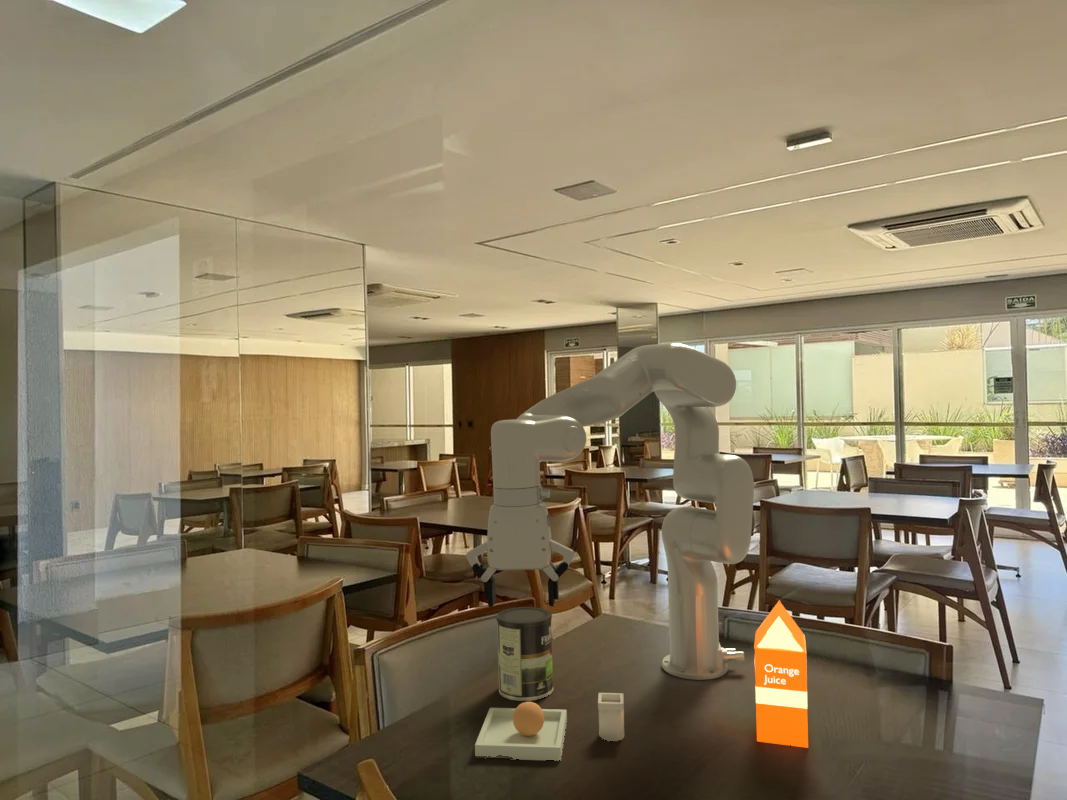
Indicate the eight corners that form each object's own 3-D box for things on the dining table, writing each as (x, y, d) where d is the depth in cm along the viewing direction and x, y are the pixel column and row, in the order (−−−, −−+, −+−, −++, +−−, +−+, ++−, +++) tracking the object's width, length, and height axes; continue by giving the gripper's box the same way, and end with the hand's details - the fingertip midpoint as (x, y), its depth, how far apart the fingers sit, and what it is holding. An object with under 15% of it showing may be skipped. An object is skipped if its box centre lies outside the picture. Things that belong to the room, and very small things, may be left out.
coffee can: (557, 680, 139) (556, 607, 138) (548, 703, 129) (546, 624, 128) (505, 677, 141) (503, 605, 141) (491, 700, 131) (489, 622, 130)
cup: (624, 730, 118) (623, 693, 118) (624, 741, 114) (623, 703, 114) (599, 729, 118) (598, 692, 118) (598, 741, 114) (597, 703, 114)
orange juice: (807, 722, 119) (804, 601, 118) (809, 748, 110) (806, 617, 110) (757, 717, 121) (754, 597, 121) (755, 741, 113) (752, 613, 113)
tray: (566, 721, 121) (566, 709, 121) (560, 760, 108) (560, 747, 108) (490, 719, 123) (489, 707, 123) (475, 758, 110) (474, 744, 110)
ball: (539, 731, 118) (550, 703, 117) (536, 746, 113) (547, 717, 112) (510, 719, 118) (521, 691, 118) (506, 734, 113) (517, 705, 113)
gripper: (573, 492, 118) (577, 596, 118) (468, 494, 120) (473, 597, 120) (570, 499, 110) (574, 611, 111) (458, 502, 112) (463, 612, 113)
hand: (521, 604), depth 116 cm, fingers open, 9 cm apart
